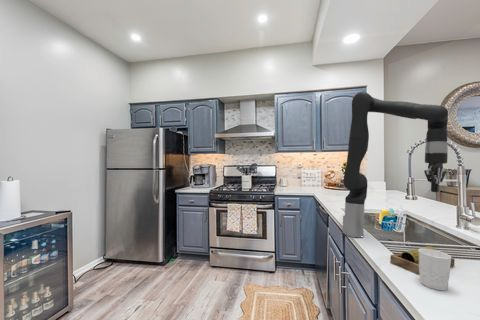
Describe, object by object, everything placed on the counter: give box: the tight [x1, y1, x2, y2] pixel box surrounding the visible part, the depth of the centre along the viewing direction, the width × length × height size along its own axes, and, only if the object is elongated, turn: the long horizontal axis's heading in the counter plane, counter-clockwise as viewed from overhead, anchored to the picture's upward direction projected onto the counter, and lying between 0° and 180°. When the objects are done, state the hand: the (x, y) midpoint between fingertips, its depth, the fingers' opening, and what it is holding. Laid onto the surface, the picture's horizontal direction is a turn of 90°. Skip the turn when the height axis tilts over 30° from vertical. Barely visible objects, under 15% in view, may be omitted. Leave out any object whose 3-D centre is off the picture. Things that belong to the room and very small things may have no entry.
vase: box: [400, 245, 439, 264], centre depth 87 cm, size 6×6×14 cm
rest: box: [389, 252, 456, 276], centre depth 87 cm, size 11×21×3 cm, turn 115°
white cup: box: [418, 248, 452, 291], centre depth 72 cm, size 8×8×10 cm
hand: (434, 191), depth 99 cm, fingers closed
